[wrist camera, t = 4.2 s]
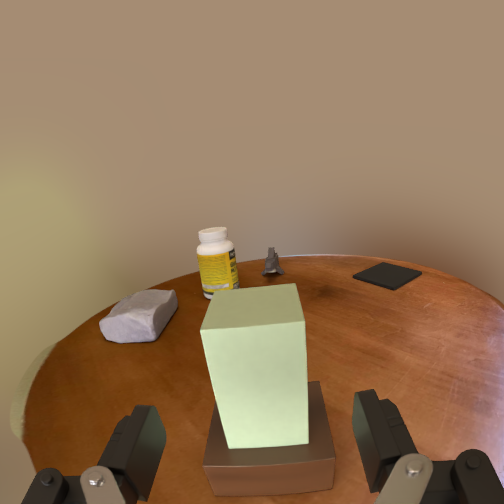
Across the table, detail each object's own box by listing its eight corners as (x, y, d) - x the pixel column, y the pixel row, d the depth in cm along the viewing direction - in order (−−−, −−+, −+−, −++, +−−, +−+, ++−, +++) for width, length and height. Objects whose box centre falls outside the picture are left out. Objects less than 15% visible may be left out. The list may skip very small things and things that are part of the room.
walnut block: (332, 489, 16) (336, 458, 15) (214, 496, 17) (202, 466, 16) (319, 415, 24) (319, 380, 23) (225, 422, 25) (217, 388, 23)
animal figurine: (266, 270, 67) (265, 245, 67) (287, 268, 66) (286, 244, 66) (256, 280, 56) (253, 251, 55) (281, 279, 55) (279, 249, 54)
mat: (421, 274, 50) (421, 271, 50) (394, 290, 46) (394, 287, 46) (382, 264, 58) (383, 262, 57) (352, 277, 53) (352, 275, 53)
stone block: (103, 353, 40) (160, 341, 39) (88, 323, 39) (146, 308, 38) (134, 319, 52) (184, 306, 50) (123, 294, 51) (173, 279, 49)
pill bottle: (242, 297, 51) (233, 230, 48) (204, 303, 51) (192, 236, 48) (238, 284, 57) (229, 223, 54) (204, 289, 57) (193, 229, 54)
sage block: (308, 443, 17) (305, 321, 14) (228, 448, 17) (199, 329, 15) (302, 394, 22) (295, 282, 19) (234, 400, 22) (214, 290, 20)
